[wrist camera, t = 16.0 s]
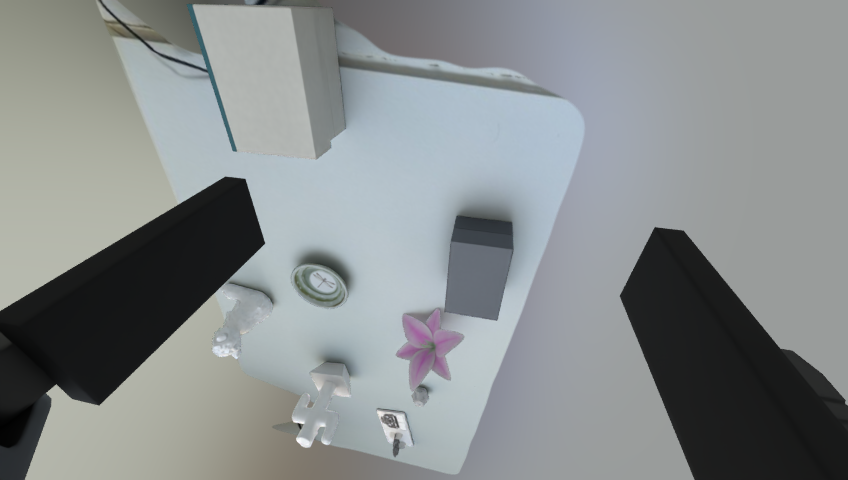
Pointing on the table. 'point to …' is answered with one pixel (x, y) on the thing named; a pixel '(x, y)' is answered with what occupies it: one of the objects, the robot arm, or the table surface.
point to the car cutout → (395, 429)
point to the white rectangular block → (327, 66)
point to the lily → (427, 347)
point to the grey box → (478, 267)
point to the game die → (420, 397)
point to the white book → (265, 77)
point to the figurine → (321, 403)
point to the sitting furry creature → (240, 318)
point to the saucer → (319, 285)
